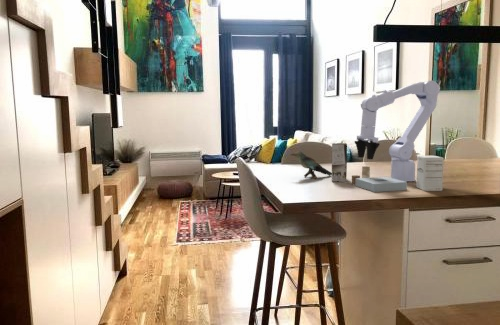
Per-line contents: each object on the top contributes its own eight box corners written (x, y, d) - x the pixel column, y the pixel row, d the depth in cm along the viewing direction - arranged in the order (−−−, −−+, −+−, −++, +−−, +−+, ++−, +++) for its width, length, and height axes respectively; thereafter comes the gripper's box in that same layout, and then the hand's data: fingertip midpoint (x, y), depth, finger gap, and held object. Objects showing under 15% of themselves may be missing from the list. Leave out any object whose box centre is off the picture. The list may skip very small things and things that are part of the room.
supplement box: (415, 187, 164) (416, 155, 163) (434, 187, 164) (436, 155, 163) (422, 191, 157) (424, 157, 155) (442, 190, 157) (444, 157, 155)
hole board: (386, 183, 173) (386, 176, 173) (406, 189, 159) (406, 182, 159) (355, 185, 170) (355, 178, 169) (373, 191, 156) (373, 183, 156)
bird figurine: (326, 172, 201) (307, 137, 195) (338, 175, 192) (319, 139, 186) (305, 188, 198) (285, 154, 191) (316, 192, 189) (296, 156, 182)
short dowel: (357, 183, 175) (357, 175, 175) (361, 184, 172) (361, 176, 172) (350, 183, 175) (350, 175, 174) (354, 185, 172) (354, 176, 171)
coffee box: (346, 182, 179) (347, 144, 177) (331, 181, 180) (331, 144, 178) (346, 178, 188) (346, 142, 186) (331, 178, 189) (332, 142, 187)
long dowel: (367, 180, 181) (367, 165, 181) (370, 182, 178) (371, 166, 177) (360, 181, 181) (360, 166, 180) (364, 182, 178) (364, 167, 177)
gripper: (351, 125, 183) (348, 156, 184) (368, 126, 169) (365, 159, 170) (366, 125, 184) (363, 156, 186) (384, 127, 170) (381, 160, 172)
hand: (365, 158), depth 178 cm, fingers open, 7 cm apart
